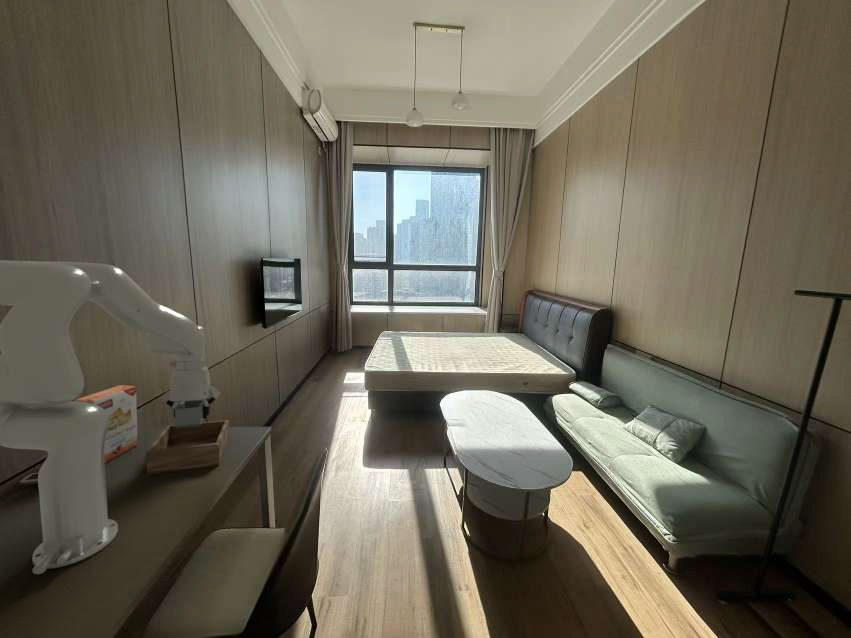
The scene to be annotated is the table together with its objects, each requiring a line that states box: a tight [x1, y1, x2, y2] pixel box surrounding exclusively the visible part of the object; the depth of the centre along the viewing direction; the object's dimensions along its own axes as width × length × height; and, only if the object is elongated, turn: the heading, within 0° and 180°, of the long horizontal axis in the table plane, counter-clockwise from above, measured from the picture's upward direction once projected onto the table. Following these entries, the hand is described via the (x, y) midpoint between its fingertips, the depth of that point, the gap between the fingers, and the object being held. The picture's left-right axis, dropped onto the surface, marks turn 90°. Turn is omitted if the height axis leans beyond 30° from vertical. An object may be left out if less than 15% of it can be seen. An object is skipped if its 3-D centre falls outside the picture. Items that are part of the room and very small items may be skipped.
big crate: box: [145, 419, 230, 476], centre depth 106 cm, size 18×18×7 cm
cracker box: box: [74, 384, 138, 464], centre depth 102 cm, size 14×6×21 cm, turn 179°
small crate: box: [174, 400, 206, 429], centre depth 105 cm, size 9×7×6 cm
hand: (192, 417), depth 106 cm, fingers closed on small crate, 6 cm apart
